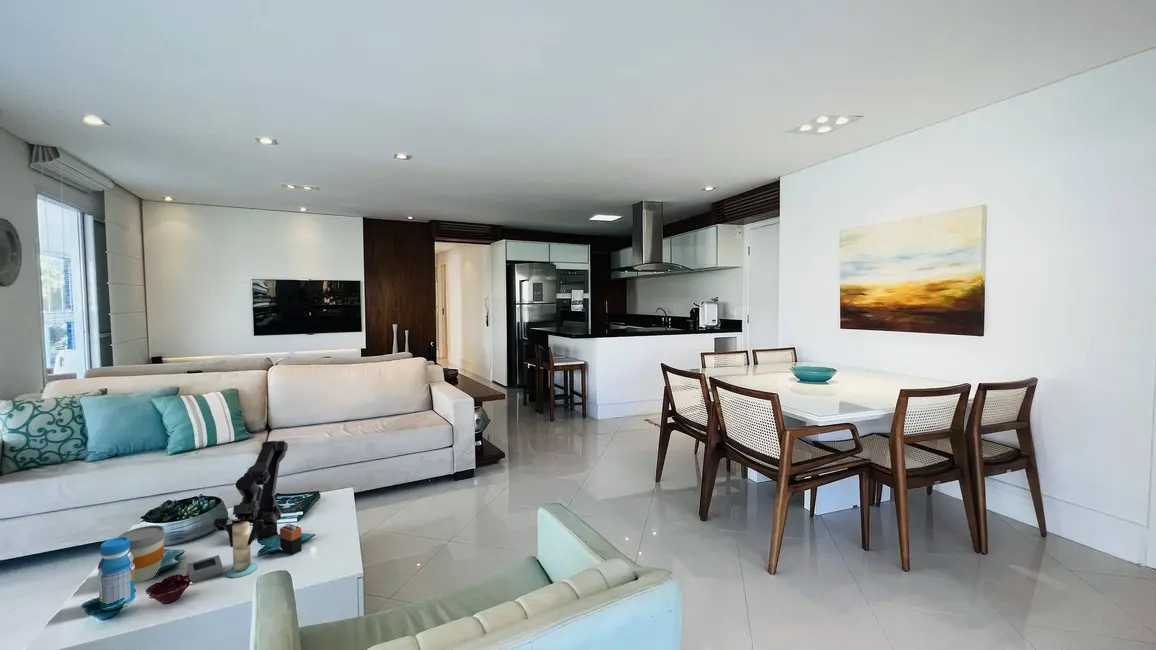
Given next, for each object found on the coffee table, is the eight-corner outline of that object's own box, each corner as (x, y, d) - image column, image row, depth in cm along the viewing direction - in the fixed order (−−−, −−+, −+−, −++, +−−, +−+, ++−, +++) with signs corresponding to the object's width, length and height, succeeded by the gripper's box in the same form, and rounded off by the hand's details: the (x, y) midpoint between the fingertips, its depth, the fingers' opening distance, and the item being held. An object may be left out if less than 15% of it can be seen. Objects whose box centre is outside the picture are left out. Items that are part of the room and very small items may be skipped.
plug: (245, 561, 176) (243, 520, 175) (253, 564, 174) (252, 523, 173) (230, 568, 171) (229, 526, 171) (239, 571, 169) (237, 529, 168)
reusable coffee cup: (141, 565, 176) (140, 524, 175) (175, 566, 175) (174, 525, 175) (106, 585, 163) (105, 541, 162) (143, 586, 163) (142, 542, 162)
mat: (255, 561, 179) (255, 559, 179) (259, 571, 172) (259, 569, 172) (224, 570, 173) (224, 568, 173) (228, 581, 166) (228, 579, 166)
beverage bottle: (113, 614, 148) (111, 549, 147) (91, 610, 150) (88, 546, 149) (143, 597, 157) (140, 536, 156) (121, 594, 158) (118, 533, 157)
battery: (291, 546, 190) (290, 521, 189) (302, 550, 187) (301, 525, 186) (279, 551, 186) (279, 525, 185) (291, 556, 183) (290, 529, 182)
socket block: (219, 564, 177) (218, 554, 176) (222, 574, 170) (222, 564, 170) (187, 573, 171) (186, 563, 170) (189, 584, 164) (189, 574, 164)
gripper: (213, 495, 172) (200, 541, 162) (274, 490, 178) (264, 534, 168) (223, 508, 180) (211, 552, 170) (281, 502, 186) (272, 545, 176)
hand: (240, 545), depth 171 cm, fingers closed on plug, 5 cm apart
